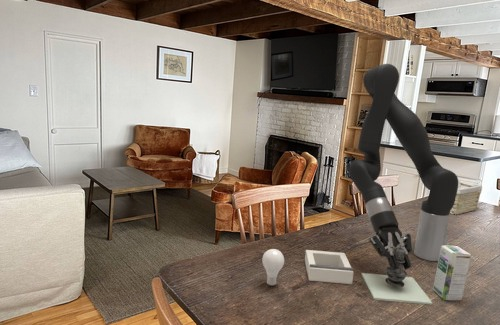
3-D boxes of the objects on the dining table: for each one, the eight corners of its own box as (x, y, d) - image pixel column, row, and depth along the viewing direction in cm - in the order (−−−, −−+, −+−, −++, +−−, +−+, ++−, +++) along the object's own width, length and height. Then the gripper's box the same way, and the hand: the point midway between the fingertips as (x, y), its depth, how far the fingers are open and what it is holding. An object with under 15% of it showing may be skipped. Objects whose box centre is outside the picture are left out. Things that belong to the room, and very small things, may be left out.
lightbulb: (284, 282, 104) (287, 247, 102) (279, 292, 98) (282, 256, 96) (264, 277, 106) (266, 243, 104) (257, 287, 100) (260, 252, 98)
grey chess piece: (407, 289, 101) (413, 250, 98) (386, 285, 102) (392, 247, 99) (402, 279, 106) (408, 242, 104) (382, 275, 107) (388, 239, 105)
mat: (412, 279, 111) (412, 277, 111) (432, 304, 97) (432, 302, 97) (361, 274, 111) (361, 273, 111) (374, 299, 98) (374, 297, 98)
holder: (343, 264, 118) (344, 250, 117) (351, 284, 105) (353, 269, 104) (304, 260, 119) (306, 247, 118) (308, 280, 106) (310, 265, 105)
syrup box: (431, 289, 105) (439, 244, 102) (450, 290, 106) (458, 245, 103) (443, 300, 99) (452, 253, 97) (463, 300, 100) (472, 254, 97)
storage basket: (455, 216, 179) (460, 188, 176) (425, 207, 192) (430, 181, 190) (479, 211, 191) (484, 185, 188) (450, 202, 205) (454, 178, 202)
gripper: (368, 210, 105) (389, 267, 96) (406, 208, 109) (430, 263, 100) (356, 220, 111) (374, 274, 102) (393, 218, 115) (414, 270, 106)
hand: (402, 268), depth 101 cm, fingers closed on grey chess piece, 3 cm apart
